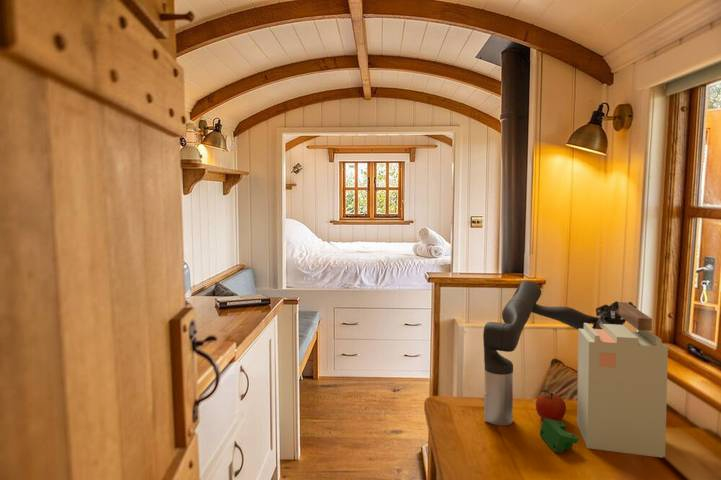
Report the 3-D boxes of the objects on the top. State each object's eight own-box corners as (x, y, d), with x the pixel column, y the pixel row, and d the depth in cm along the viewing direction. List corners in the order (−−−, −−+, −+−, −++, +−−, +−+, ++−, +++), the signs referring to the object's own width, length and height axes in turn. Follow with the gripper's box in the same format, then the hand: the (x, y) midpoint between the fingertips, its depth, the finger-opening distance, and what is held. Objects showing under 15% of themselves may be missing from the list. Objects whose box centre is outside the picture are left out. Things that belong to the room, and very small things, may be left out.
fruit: (566, 428, 142) (567, 398, 141) (535, 423, 145) (535, 393, 145) (565, 415, 150) (565, 387, 150) (535, 411, 154) (536, 383, 154)
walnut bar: (637, 330, 126) (638, 318, 126) (615, 312, 149) (615, 301, 149) (651, 330, 125) (652, 318, 125) (626, 312, 148) (627, 302, 148)
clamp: (569, 465, 128) (582, 445, 124) (549, 461, 128) (562, 440, 124) (555, 432, 139) (567, 412, 135) (537, 428, 139) (549, 407, 135)
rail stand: (587, 448, 129) (589, 335, 128) (577, 423, 145) (578, 322, 143) (665, 458, 123) (668, 340, 122) (645, 431, 139) (648, 326, 137)
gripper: (589, 308, 164) (599, 292, 149) (632, 310, 160) (646, 294, 145) (591, 328, 161) (601, 314, 146) (634, 330, 157) (650, 316, 142)
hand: (623, 304), depth 146 cm, fingers closed on walnut bar, 3 cm apart
